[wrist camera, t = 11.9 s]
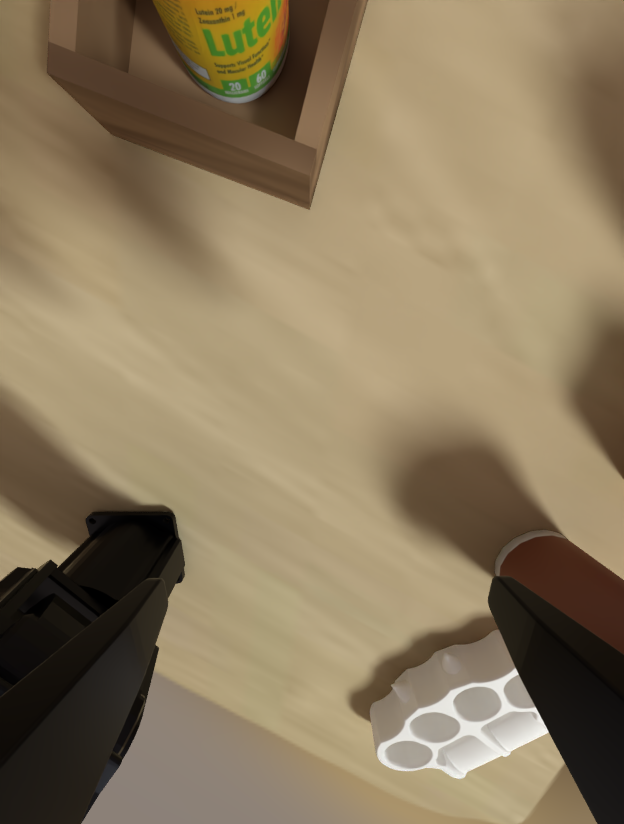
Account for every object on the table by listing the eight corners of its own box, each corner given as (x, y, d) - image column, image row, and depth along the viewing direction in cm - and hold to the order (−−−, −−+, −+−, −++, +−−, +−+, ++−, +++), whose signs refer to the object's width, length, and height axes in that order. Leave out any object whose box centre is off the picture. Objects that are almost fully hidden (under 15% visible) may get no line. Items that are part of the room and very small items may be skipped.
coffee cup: (559, 494, 22) (826, 677, 11) (608, 566, 24) (876, 784, 13) (457, 557, 24) (593, 774, 12) (511, 620, 26) (671, 855, 15)
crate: (309, 209, 17) (309, 176, 13) (111, 134, 15) (46, 72, 12) (382, -53, 13) (411, -201, 10) (142, -170, 12) (68, -388, 9)
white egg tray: (426, 755, 33) (339, 693, 29) (572, 679, 29) (491, 598, 26) (439, 803, 29) (343, 738, 26) (604, 723, 26) (517, 637, 23)
